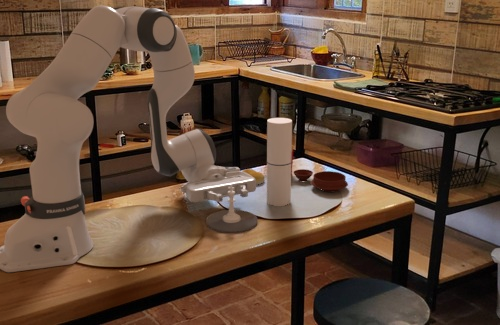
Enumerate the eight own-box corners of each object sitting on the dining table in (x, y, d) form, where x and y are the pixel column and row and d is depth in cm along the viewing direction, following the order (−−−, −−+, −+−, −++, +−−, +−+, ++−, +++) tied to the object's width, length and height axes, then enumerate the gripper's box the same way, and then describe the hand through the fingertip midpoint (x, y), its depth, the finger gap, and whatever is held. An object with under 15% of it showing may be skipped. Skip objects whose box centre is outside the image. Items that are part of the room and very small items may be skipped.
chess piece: (226, 214, 158) (225, 181, 155) (242, 216, 157) (242, 183, 154) (220, 221, 154) (219, 187, 151) (237, 223, 152) (236, 189, 149)
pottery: (331, 198, 173) (332, 185, 171) (283, 182, 186) (284, 170, 185) (355, 189, 180) (355, 176, 179) (307, 174, 194) (307, 162, 193)
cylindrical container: (264, 204, 168) (264, 122, 160) (270, 196, 174) (270, 117, 166) (287, 207, 166) (289, 124, 158) (292, 198, 172) (294, 118, 165)
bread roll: (251, 188, 182) (251, 176, 181) (233, 181, 188) (233, 169, 187) (270, 182, 187) (270, 170, 186) (252, 175, 193) (252, 164, 192)
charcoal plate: (219, 236, 146) (219, 234, 146) (198, 217, 158) (198, 215, 158) (266, 226, 153) (266, 223, 152) (243, 208, 164) (243, 206, 164)
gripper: (177, 176, 158) (196, 192, 147) (242, 166, 168) (265, 179, 156) (178, 197, 160) (197, 214, 149) (242, 186, 169) (265, 201, 158)
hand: (233, 196), depth 152 cm, fingers open, 6 cm apart
